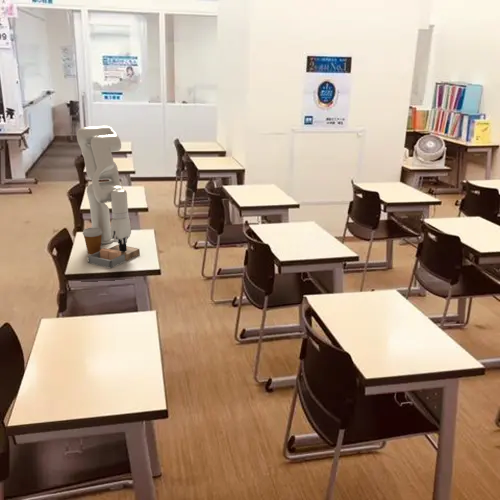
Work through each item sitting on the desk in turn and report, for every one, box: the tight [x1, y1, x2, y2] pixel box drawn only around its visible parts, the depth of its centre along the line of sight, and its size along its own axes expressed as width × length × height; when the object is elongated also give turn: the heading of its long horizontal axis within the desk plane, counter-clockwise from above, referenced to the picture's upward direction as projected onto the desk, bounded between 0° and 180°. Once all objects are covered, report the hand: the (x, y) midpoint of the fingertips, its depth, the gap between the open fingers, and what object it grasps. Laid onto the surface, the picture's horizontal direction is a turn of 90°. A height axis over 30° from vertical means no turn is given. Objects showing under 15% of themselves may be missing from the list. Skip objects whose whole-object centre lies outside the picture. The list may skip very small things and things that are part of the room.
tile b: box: [109, 250, 121, 260], centre depth 260 cm, size 5×5×3 cm
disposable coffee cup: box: [82, 227, 102, 255], centre depth 270 cm, size 10×10×12 cm
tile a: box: [100, 247, 112, 260], centre depth 262 cm, size 5×5×3 cm
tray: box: [87, 251, 126, 269], centre depth 260 cm, size 10×14×4 cm
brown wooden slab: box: [108, 243, 140, 262], centre depth 269 cm, size 11×14×3 cm
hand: (123, 250), depth 265 cm, fingers closed
